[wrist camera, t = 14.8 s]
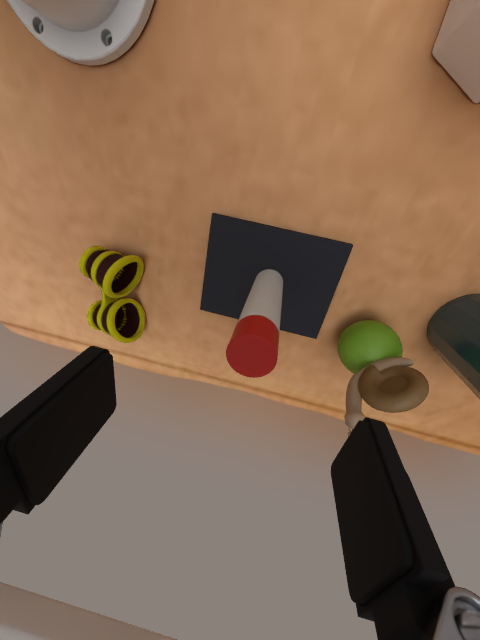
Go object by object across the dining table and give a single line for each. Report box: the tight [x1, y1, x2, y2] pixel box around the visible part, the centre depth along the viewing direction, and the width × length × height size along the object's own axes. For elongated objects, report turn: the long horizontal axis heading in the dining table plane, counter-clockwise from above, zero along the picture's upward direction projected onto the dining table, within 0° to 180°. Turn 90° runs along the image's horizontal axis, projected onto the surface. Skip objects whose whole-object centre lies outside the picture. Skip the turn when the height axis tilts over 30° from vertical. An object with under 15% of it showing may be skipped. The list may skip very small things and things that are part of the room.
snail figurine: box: [338, 320, 429, 437], centre depth 21 cm, size 5×6×12 cm
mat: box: [200, 213, 353, 339], centre depth 25 cm, size 13×10×1 cm
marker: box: [226, 269, 283, 377], centre depth 19 cm, size 3×3×13 cm
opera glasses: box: [79, 246, 145, 343], centre depth 27 cm, size 10×5×5 cm, turn 171°
